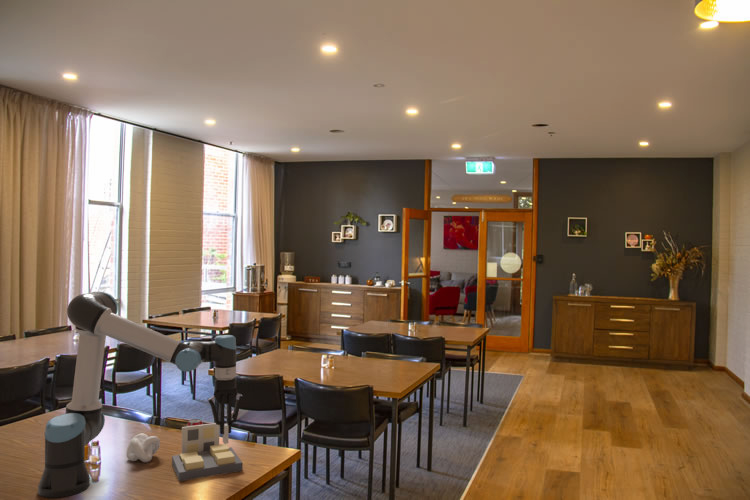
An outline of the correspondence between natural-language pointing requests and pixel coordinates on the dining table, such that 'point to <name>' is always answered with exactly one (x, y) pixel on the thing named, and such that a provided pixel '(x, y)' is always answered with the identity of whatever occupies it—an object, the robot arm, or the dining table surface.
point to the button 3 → (218, 449)
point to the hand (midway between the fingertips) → (225, 442)
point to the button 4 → (224, 458)
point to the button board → (203, 453)
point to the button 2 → (193, 462)
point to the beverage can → (194, 422)
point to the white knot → (142, 447)
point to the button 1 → (187, 455)
